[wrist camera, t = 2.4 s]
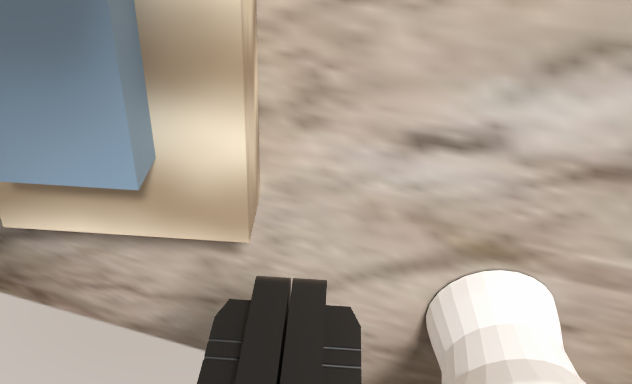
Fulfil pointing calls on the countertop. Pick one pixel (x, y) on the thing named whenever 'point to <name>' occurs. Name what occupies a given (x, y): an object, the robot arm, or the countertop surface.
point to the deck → (176, 135)
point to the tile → (73, 94)
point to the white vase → (498, 332)
